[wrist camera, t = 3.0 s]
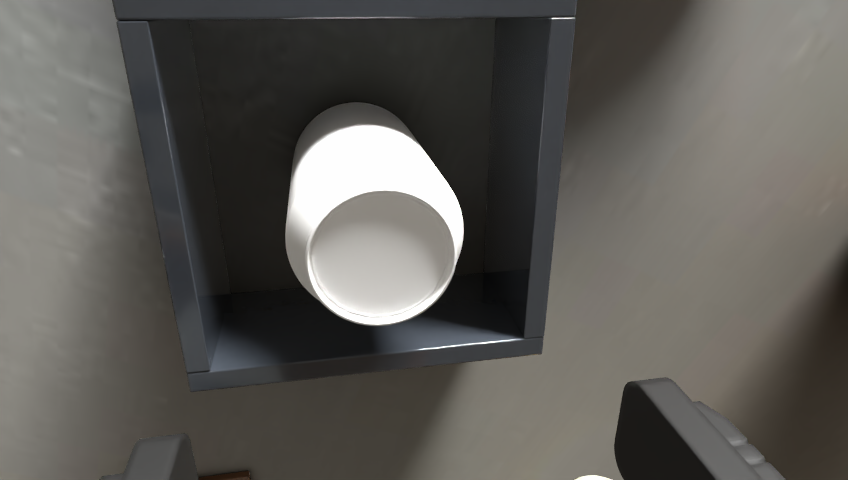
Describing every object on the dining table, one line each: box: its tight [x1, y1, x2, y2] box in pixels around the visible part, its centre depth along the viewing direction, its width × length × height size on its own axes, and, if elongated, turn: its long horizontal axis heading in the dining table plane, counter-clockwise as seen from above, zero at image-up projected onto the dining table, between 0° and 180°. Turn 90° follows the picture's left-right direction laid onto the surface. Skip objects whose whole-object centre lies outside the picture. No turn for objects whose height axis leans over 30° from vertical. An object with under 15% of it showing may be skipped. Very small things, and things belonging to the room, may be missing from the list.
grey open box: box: [112, 0, 577, 392], centre depth 26 cm, size 16×16×7 cm
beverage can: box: [285, 102, 464, 326], centre depth 24 cm, size 6×6×12 cm
